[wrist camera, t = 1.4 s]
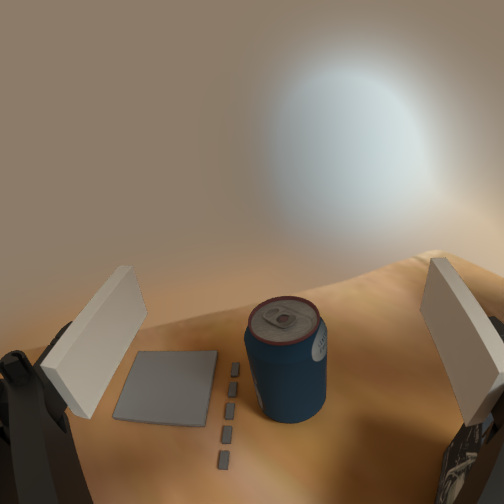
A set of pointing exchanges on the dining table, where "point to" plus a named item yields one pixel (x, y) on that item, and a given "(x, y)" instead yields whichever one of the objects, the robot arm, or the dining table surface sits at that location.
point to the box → (460, 460)
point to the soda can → (288, 358)
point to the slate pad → (168, 388)
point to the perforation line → (229, 416)
